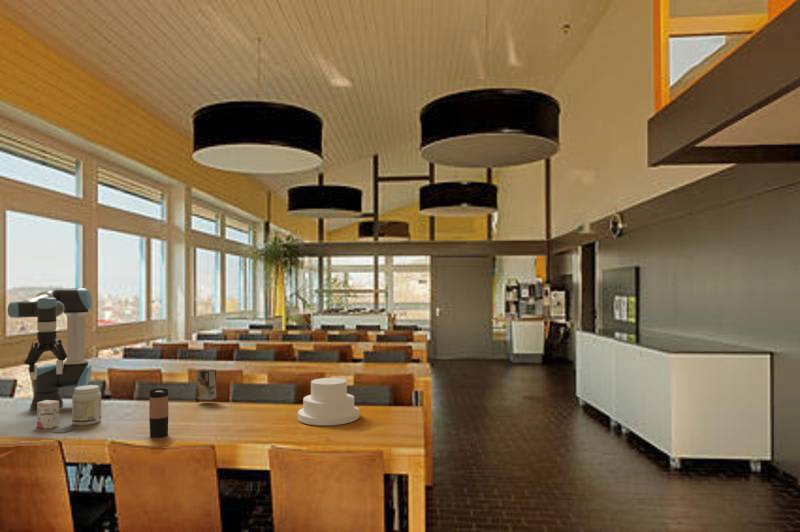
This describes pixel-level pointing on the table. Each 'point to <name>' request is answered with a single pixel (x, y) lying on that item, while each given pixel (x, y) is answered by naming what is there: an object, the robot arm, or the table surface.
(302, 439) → the table surface
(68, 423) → the table surface
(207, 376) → the coffee box
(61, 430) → the charcoal rubber mat
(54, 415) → the ink box
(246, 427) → the table surface
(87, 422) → the supplement tub
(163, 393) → the travel mug
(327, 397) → the cake
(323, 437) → the table surface
